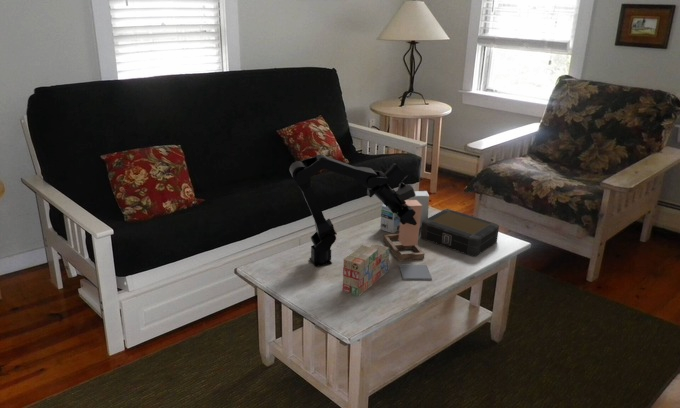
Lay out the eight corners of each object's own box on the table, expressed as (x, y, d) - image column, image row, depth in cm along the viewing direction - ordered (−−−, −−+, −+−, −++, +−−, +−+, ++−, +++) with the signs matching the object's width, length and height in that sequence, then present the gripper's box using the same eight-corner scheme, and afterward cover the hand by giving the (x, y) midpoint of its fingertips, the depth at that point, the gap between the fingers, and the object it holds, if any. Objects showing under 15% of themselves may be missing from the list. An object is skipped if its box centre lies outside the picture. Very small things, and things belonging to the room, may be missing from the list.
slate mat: (403, 279, 195) (403, 278, 195) (399, 266, 205) (399, 264, 204) (431, 279, 196) (431, 278, 196) (426, 266, 205) (426, 264, 205)
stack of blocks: (373, 266, 204) (375, 235, 200) (388, 270, 201) (390, 239, 197) (342, 291, 187) (343, 258, 183) (358, 297, 184) (359, 263, 180)
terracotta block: (403, 246, 209) (407, 206, 203) (398, 239, 214) (402, 200, 208) (417, 245, 210) (422, 205, 204) (411, 238, 215) (416, 199, 209)
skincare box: (424, 223, 241) (427, 190, 236) (427, 228, 236) (430, 195, 230) (405, 222, 241) (407, 190, 235) (407, 228, 235) (410, 195, 230)
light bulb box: (393, 233, 230) (394, 209, 226) (379, 229, 234) (380, 205, 230) (406, 225, 238) (408, 202, 234) (393, 221, 242) (394, 198, 238)
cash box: (418, 239, 227) (419, 221, 224) (444, 224, 241) (446, 207, 238) (473, 259, 212) (476, 240, 209) (498, 241, 226) (501, 224, 223)
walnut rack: (399, 260, 208) (399, 256, 208) (383, 239, 225) (383, 234, 224) (424, 258, 211) (424, 253, 210) (406, 237, 227) (406, 232, 227)
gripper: (412, 188, 193) (439, 215, 200) (394, 171, 210) (419, 196, 217) (389, 211, 194) (416, 237, 201) (372, 192, 211) (398, 217, 218)
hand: (413, 221), depth 209 cm, fingers closed on terracotta block, 5 cm apart
